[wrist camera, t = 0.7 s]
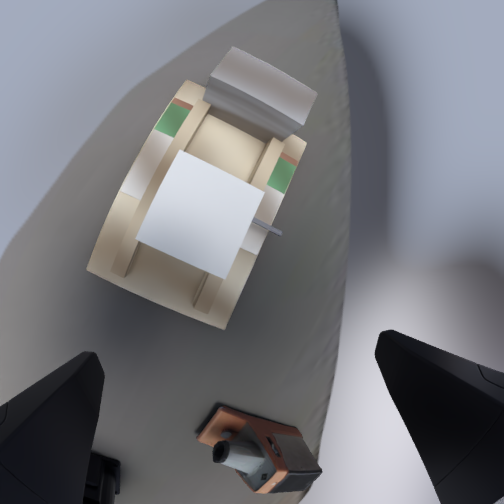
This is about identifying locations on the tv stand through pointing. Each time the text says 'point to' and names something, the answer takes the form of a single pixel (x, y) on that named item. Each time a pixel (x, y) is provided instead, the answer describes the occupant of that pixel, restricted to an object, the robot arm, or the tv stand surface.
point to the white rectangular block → (201, 215)
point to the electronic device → (261, 451)
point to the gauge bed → (221, 156)
